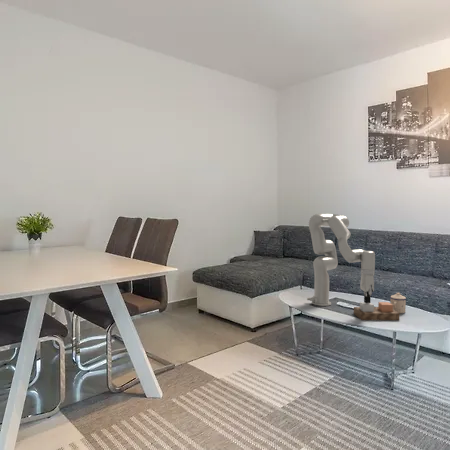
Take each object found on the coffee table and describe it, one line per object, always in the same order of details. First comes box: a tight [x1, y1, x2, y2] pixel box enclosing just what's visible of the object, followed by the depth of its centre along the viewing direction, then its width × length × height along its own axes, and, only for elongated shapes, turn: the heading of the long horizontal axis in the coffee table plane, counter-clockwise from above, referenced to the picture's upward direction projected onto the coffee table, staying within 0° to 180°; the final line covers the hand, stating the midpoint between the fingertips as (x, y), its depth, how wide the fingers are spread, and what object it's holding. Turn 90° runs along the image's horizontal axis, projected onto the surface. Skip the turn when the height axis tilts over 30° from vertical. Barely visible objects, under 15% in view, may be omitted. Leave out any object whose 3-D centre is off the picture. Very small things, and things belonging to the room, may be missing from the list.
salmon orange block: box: [377, 301, 393, 312], centre depth 228 cm, size 6×6×5 cm
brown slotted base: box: [353, 306, 401, 321], centre depth 228 cm, size 22×13×4 cm, turn 90°
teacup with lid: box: [389, 292, 407, 314], centre depth 238 cm, size 12×9×12 cm
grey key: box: [359, 301, 375, 312], centre depth 228 cm, size 6×6×5 cm
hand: (367, 302), depth 228 cm, fingers closed
